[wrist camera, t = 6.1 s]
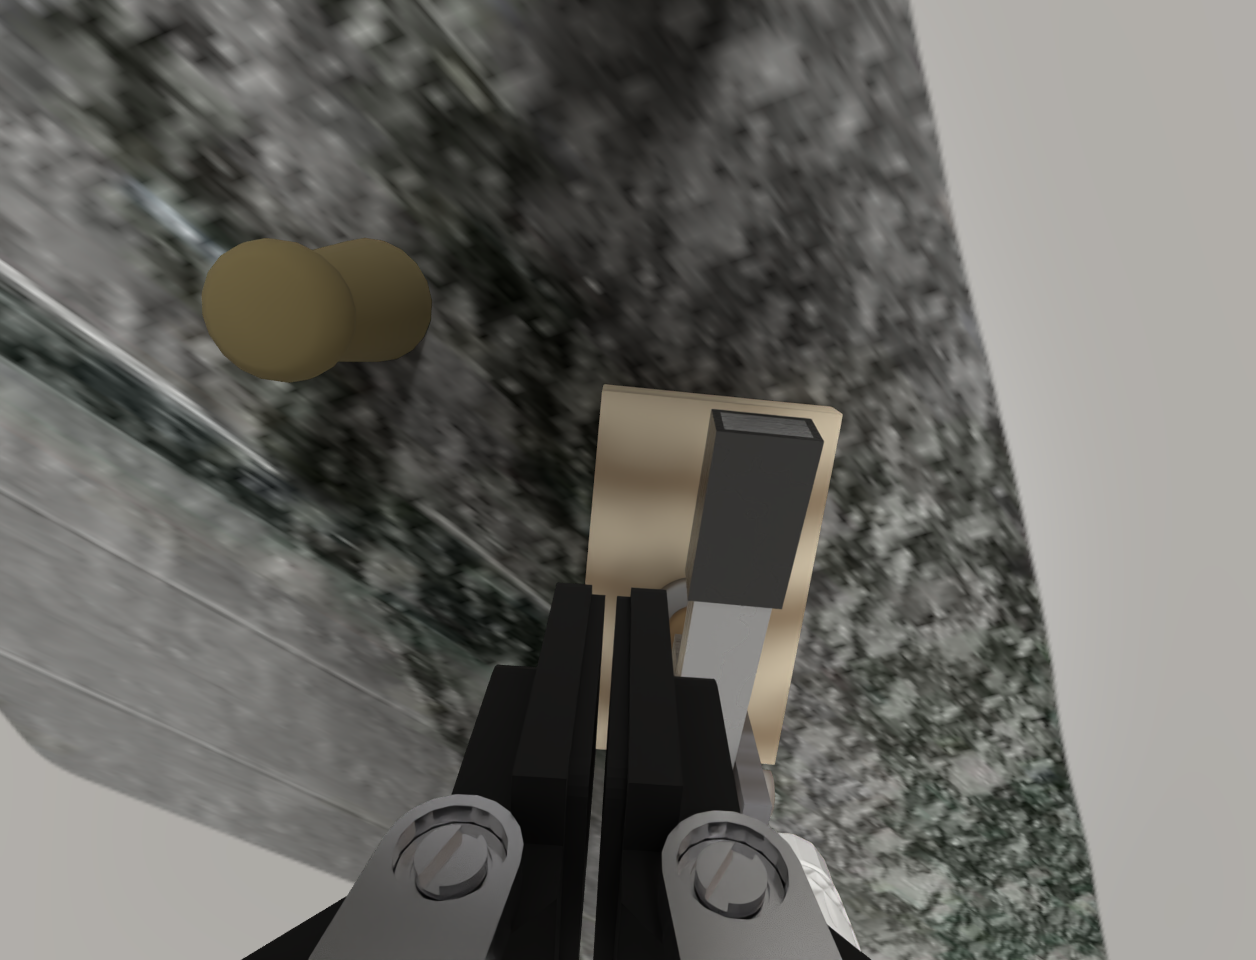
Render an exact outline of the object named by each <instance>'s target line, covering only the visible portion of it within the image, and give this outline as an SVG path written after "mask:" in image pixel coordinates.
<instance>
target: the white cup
mask: <svg viewBox="0 0 1256 960" xmlns="http://www.w3.org/2000/svg"><path fill="white" fill-rule="evenodd" d="M778 834H779V835H780V836H781V837H782V838H783V839H784V840H785V841H787V842H788V843H789V845H790V846H791V848H792V849H793V851H794V853H795V854H796V856H797V858H798V859H799V861H800V863H801V865H802V867H803V870H804V872H805V874H806V877H807V879H808V881H809V884H810V886H811V888H812V891H813V893H814V895H815V898H816V900H817V902H818V905H819V907H820V909H821V911H822V914H823V916H824V918H825V921H826V923H827V925H829V926H830V927H831V928H832V929H834V930H835V931H836V932H837V933H839V934H840V935H841V936H842V937H844V938H845V939H846V940H847V941H848V942H850V943H851V944H852V945H853V946H855V947H856V948H857V949H858V950H860V951H861V948H860V945H859V943H858V940H857V937H856V935H855V932H854V930H853V927H852V925H851V923H850V921H849V918H848V916H847V914H846V911H845V908H844V905H843V903H842V901H841V898H840V896H839V894H838V892H837V890H836V888H835V886H834V884H833V881H832V878H831V876H830V873H829V870H828V868H827V865H826V862H825V860H824V858H823V857H822V856H821V854H820V853H819V852H818V850H817V849H816V848H815V846H814V845H813V844H812V843H811V842H809V841H807V840H805V839H803V838H801V837H799V836H797V835H795V834H790V833H778ZM861 952H862V951H861Z"/></svg>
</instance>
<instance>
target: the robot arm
mask: <svg viewBox="0 0 1256 960" xmlns="http://www.w3.org/2000/svg"><path fill="white" fill-rule="evenodd" d="M605 596H606V595H597V594H592V585H587V584H572V583H557V585H556V589H555V593H554V597H553V601H552V606H551V610H550V614H549V618H548V623H547V627H546V631H545V635H544V640H543V644H542V648H541V652H540V657H539V661H538V665H537V667H525V666H510V665H496V666H495V668H494V670H493V672H492V675H491V678H490V681H489V684H488V687H487V690H486V693H485V696H484V699H483V702H482V705H481V708H480V711H479V714H478V717H477V720H476V723H475V726H474V729H473V732H472V735H471V738H470V741H469V744H468V747H467V750H466V753H465V756H464V759H463V762H462V765H461V768H460V771H459V774H458V777H457V780H456V783H455V786H454V789H453V791H452V794H451V795H450V796H445V797H439V798H435V799H432V800H430V801H428V802H425V803H423V804H421V805H418V806H416V807H414V808H413V809H411V810H410V811H409V812H407V813H406V814H405V815H403V816H402V817H400V818H399V819H398V820H397V821H396V822H395V823H394V824H393V826H392V827H391V828H390V829H389V830H388V832H387V833H386V834H385V835H384V837H383V838H382V840H381V842H380V843H379V845H378V846H377V848H376V850H375V851H374V853H373V855H372V856H371V858H370V859H369V861H368V863H367V864H366V866H365V868H364V869H363V871H362V872H361V874H360V876H359V877H358V879H357V881H356V882H355V884H354V885H353V887H352V889H351V890H350V892H349V894H348V895H347V896H346V897H344V898H343V899H341V900H339V901H338V902H336V903H335V904H333V905H331V906H329V907H328V908H326V909H325V910H323V911H321V912H319V913H318V914H316V915H315V916H313V917H311V918H310V919H308V920H306V921H305V922H303V923H301V924H300V925H298V926H296V927H295V928H293V929H291V930H290V931H288V932H286V933H285V934H283V935H281V936H280V937H278V938H276V939H275V940H273V941H272V942H270V943H268V944H266V945H265V946H263V947H262V948H260V949H258V950H257V951H255V952H254V953H252V954H250V955H248V956H247V957H245V958H243V959H242V960H579V951H580V939H581V927H582V914H583V902H584V890H585V877H586V865H587V853H588V841H589V828H590V816H591V804H592V791H593V779H594V767H595V754H596V739H597V724H598V708H599V692H600V676H601V661H602V645H603V629H604V613H605ZM593 960H871V959H870V958H868V957H867V956H866V955H865V954H863V953H862V952H861V951H860V950H858V949H857V948H856V947H855V946H853V945H852V944H851V943H850V942H848V941H847V940H846V939H845V938H844V937H842V936H841V935H840V934H839V933H837V932H836V931H835V930H834V929H832V928H831V927H830V926H829V925H827V923H826V921H825V918H824V916H823V914H822V911H821V909H820V907H819V905H818V902H817V900H816V898H815V895H814V893H813V891H812V888H811V886H810V884H809V881H808V879H807V877H806V874H805V872H804V870H803V867H802V865H801V863H800V861H799V859H798V858H797V856H796V854H795V853H794V851H793V849H792V848H791V846H790V845H789V843H788V842H787V841H785V840H784V839H783V838H782V837H781V836H780V835H779V834H778V833H777V832H776V831H775V830H774V829H773V828H771V827H769V826H767V825H766V824H764V823H762V822H761V821H759V820H757V819H756V818H753V817H750V816H747V815H743V814H741V813H740V807H739V801H738V796H737V790H736V785H735V779H734V774H733V768H732V763H731V757H730V752H729V746H728V741H727V735H726V729H725V724H724V718H723V713H722V707H721V702H720V696H719V691H718V686H717V682H716V680H715V679H710V678H695V677H680V676H674V672H673V660H672V648H671V636H670V624H669V612H668V600H667V590H663V589H648V588H633V587H631V594H630V597H627V596H617V601H616V615H615V630H614V644H613V658H612V673H611V687H610V702H609V716H608V730H607V745H606V760H605V776H604V793H603V809H602V825H601V842H600V858H599V874H598V891H597V907H596V923H595V940H594V956H593Z"/></svg>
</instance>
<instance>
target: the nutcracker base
mask: <svg viewBox="0 0 1256 960" xmlns="http://www.w3.org/2000/svg"><path fill="white" fill-rule="evenodd" d="M711 409H719V410H729V411H739V412H749V413H759V414H769V415H779V416H789V417H799V418H809V419H812V421H813V422H814V424H815V426H816V428H817V430H818V431H819V433H820V435H821V437H822V439H823V440H824V445H823V449H822V453H821V457H820V461H819V465H818V469H817V473H816V477H815V481H814V485H813V489H812V493H811V496H810V500H809V504H808V508H807V512H806V516H805V520H804V524H803V528H802V532H801V536H800V540H799V544H798V548H797V552H796V556H795V560H794V564H793V568H792V572H791V576H790V580H789V584H788V588H787V592H786V596H785V599H784V603H783V607H782V609H772V611H771V615H770V619H769V623H768V627H767V631H766V636H765V640H764V644H763V648H762V652H761V656H760V660H759V664H758V668H757V673H756V677H755V681H754V685H753V689H752V693H751V697H750V701H749V705H748V709H747V714H746V718H745V722H744V726H743V730H742V734H741V738H740V742H739V746H738V750H737V755H736V759H735V763H734V767H733V774H734V779H735V785H736V790H737V796H738V801H739V807H740V813H741V814H743V815H747V816H750V817H753V818H756V819H757V820H759V821H761V822H762V823H764V824H766V825H767V826H768V825H769V820H770V817H771V815H772V813H773V809H774V802H775V787H774V779H773V775H772V772H771V771H770V770H763V769H762V765H761V763H763V764H774V765H775V760H776V754H777V749H778V744H779V739H780V734H781V729H782V724H783V719H784V713H785V708H786V703H787V698H788V693H789V688H790V683H791V678H792V672H793V667H794V662H795V657H796V652H797V647H798V642H799V637H800V631H801V626H802V621H803V616H804V611H805V606H806V601H807V596H808V590H809V585H810V580H811V575H812V570H813V565H814V560H815V555H816V549H817V544H818V539H819V534H820V529H821V524H822V519H823V514H824V508H825V503H826V498H827V493H828V488H829V483H830V478H831V473H832V467H833V462H834V457H835V452H836V447H837V442H838V437H839V432H840V426H841V421H842V416H843V414H841V413H840V412H838V411H837V410H835V409H834V408H833V407H828V406H818V405H808V404H798V403H788V402H778V401H768V400H758V399H748V398H738V397H728V396H718V395H708V394H698V393H688V392H678V391H668V390H658V389H647V388H637V387H627V386H617V385H607V384H604V385H603V389H602V398H601V409H600V421H599V432H598V444H597V455H596V466H595V478H594V489H593V500H592V512H591V523H590V535H589V546H588V557H587V569H586V580H585V584H587V585H592V594H597V595H606V596H605V613H604V629H603V645H602V661H601V676H600V692H599V708H598V724H597V739H596V749H603V750H606V745H607V730H608V716H609V702H610V687H611V673H612V658H613V644H614V630H615V615H616V601H617V596H627V597H630V594H631V587H633V588H648V589H663V590H667V600H668V612H669V624H670V636H671V648H673V642H674V636H675V634H683V629H684V623H685V617H686V611H687V605H688V599H687V588H686V576H685V567H686V561H687V555H688V549H689V543H690V536H691V530H692V524H693V518H694V512H695V506H696V500H697V494H698V487H699V481H700V475H701V469H702V463H703V457H704V451H705V445H706V439H707V432H708V426H709V420H710V414H711Z"/></svg>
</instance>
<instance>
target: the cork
mask: <svg viewBox="0 0 1256 960" xmlns="http://www.w3.org/2000/svg"><path fill="white" fill-rule="evenodd" d="M431 308H432V299H431V295H430V291H429V287H428V283H427V280H426V279H425V277H424V275H423V274H422V272H421V270H420V268H419V267H418V265H417V264H416V263H415V262H414V261H413V260H412V259H411V258H410V257H409V256H408V255H407V254H406V253H405V252H404V251H403V250H401V249H399V248H397V247H395V246H393V245H391V244H389V243H387V242H385V241H381V240H375V239H368V238H362V239H356V240H351V241H346V242H342V243H338V244H334V245H330V246H326V247H322V248H318V249H314V250H311V249H309V248H307V247H305V246H303V245H301V244H299V243H296V242H290V241H283V240H277V239H269V238H264V239H259V240H254V241H248V242H244V243H242V244H240V245H237V246H236V247H234V248H233V249H231V250H229V251H228V252H226V253H224V254H223V255H221V256H220V257H219V258H218V260H217V261H216V262H215V264H214V265H213V266H212V268H211V269H210V270H209V272H208V274H207V277H206V281H205V284H204V287H203V291H202V313H203V318H204V321H205V324H206V326H207V329H208V332H209V335H210V336H211V338H212V339H213V341H214V342H215V343H216V345H217V346H218V348H219V349H220V351H221V352H222V354H223V355H224V356H226V357H227V358H228V359H229V360H230V361H231V362H233V363H234V364H235V365H236V366H237V367H239V368H240V369H241V370H243V371H246V372H248V373H250V374H252V375H254V376H256V377H259V378H261V379H267V380H274V381H281V382H288V383H290V382H296V381H301V380H307V379H311V378H314V377H316V376H318V375H320V374H322V373H323V372H325V371H327V370H329V369H331V368H332V367H334V366H335V364H336V363H337V362H381V361H387V360H393V359H397V358H399V357H401V356H403V355H405V354H406V353H408V352H410V351H412V350H413V349H414V348H415V347H416V345H417V344H418V343H419V342H420V341H421V340H422V339H423V337H424V336H425V333H426V331H427V328H428V326H429V323H430V321H431Z"/></svg>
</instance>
